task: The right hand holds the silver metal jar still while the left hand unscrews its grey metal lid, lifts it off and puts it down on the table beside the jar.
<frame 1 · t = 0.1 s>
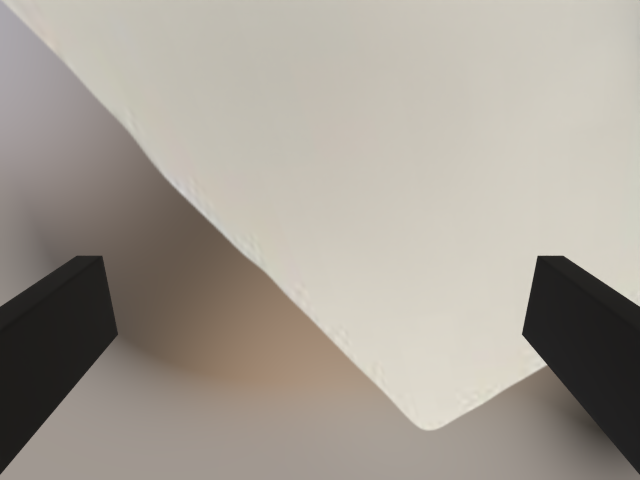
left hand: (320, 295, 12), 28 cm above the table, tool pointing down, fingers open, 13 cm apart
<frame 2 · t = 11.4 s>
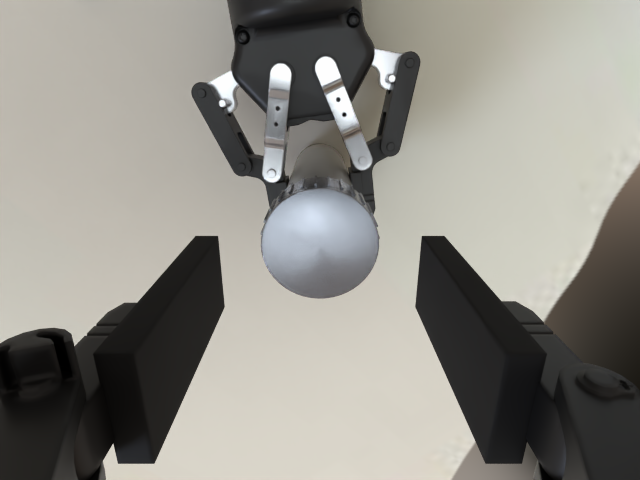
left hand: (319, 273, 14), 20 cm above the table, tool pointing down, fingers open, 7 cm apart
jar: (320, 169, 33), on the table, touching right hand
lid: (320, 243, 17), point 17 cm above the table, screwed on, not yet turned
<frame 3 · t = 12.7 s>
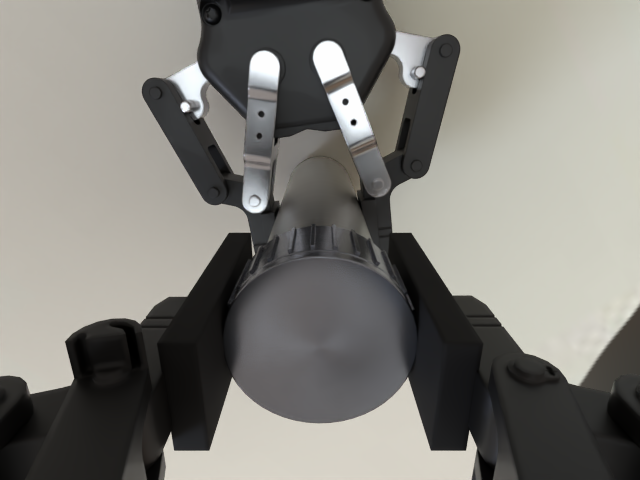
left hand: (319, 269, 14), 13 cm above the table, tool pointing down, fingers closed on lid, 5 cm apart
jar: (320, 187, 26), on the table, touching right hand
lid: (320, 338, 10), point 17 cm above the table, screwed on, not yet turned, touching left hand
when the left hand's fingers open (13 cm above the table, at t = 14.1 s): lid stays where it is, point 18 cm above the table.
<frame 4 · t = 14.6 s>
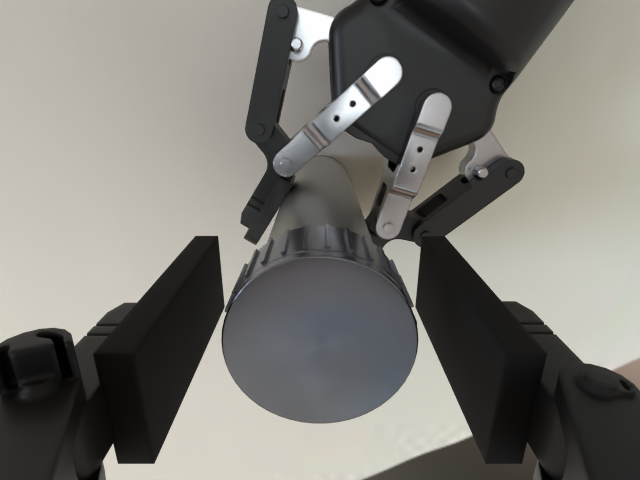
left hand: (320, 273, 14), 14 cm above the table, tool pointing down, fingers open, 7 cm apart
right hand: (292, 258, 21), fingers closed on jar, 4 cm apart
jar: (320, 187, 27), on the table, touching right hand
lid: (319, 339, 10), point 18 cm above the table, turned 83° so far, risen 0.3 cm, still on its thread
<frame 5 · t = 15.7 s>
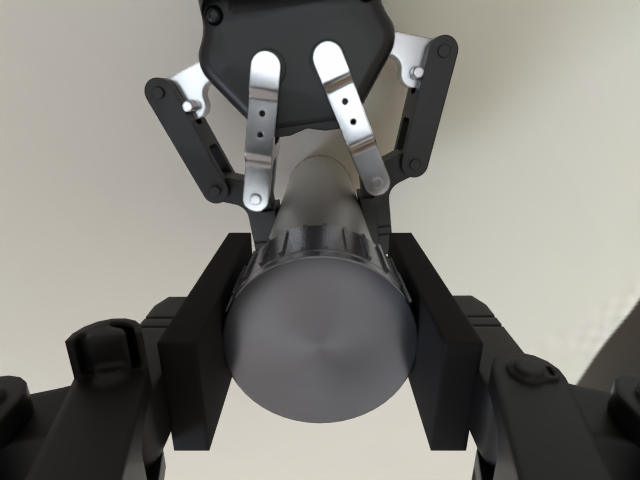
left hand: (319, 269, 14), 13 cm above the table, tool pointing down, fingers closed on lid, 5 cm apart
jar: (320, 186, 27), on the table, touching right hand
lid: (320, 338, 10), point 18 cm above the table, turned 83° so far, risen 0.3 cm, still on its thread, touching left hand
when the left hand's fingers open (0 cm above the table, at t = 21.6 s): lid drops 2 cm, point 2 cm above the table.
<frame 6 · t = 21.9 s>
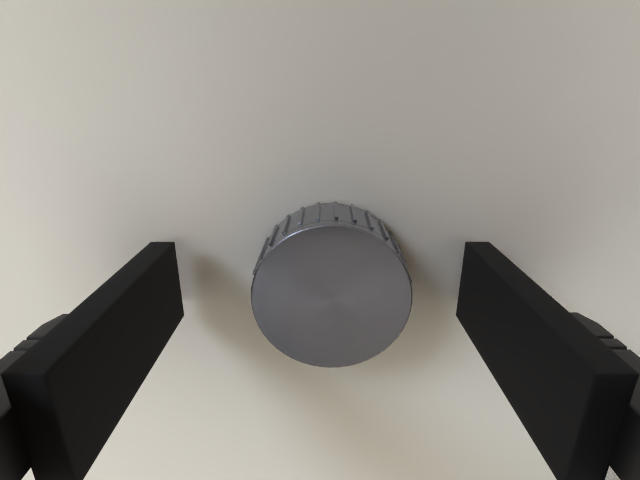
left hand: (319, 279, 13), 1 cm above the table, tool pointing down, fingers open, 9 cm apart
lid: (331, 295, 12), point 2 cm above the table, off its thread
when the right hand's fingers open (7 cm above the table, at t = 22.6 s): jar stays where it is, on the table.
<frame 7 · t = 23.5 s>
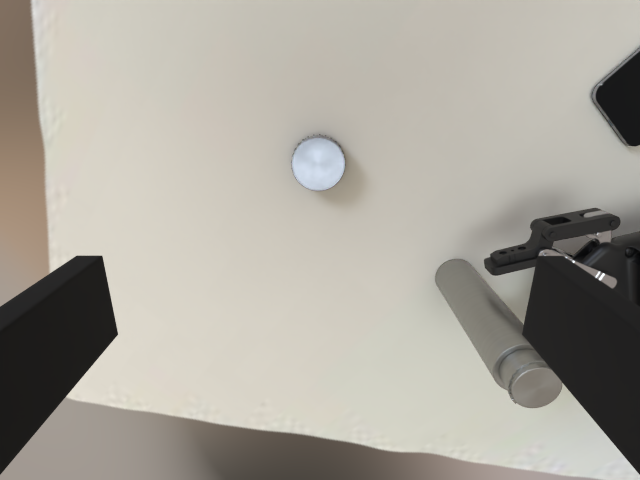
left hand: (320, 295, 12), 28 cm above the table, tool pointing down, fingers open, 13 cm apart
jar: (454, 276, 43), on the table
lid: (318, 164, 37), point 2 cm above the table, off its thread
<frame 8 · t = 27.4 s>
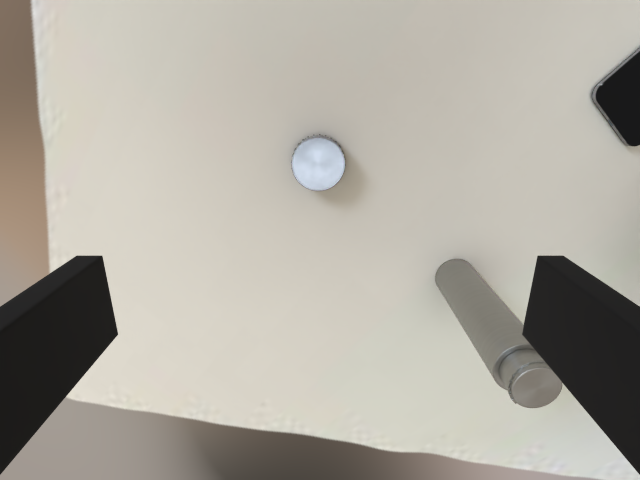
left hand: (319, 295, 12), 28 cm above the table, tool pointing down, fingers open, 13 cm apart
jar: (454, 276, 43), on the table
lid: (318, 164, 37), point 2 cm above the table, off its thread
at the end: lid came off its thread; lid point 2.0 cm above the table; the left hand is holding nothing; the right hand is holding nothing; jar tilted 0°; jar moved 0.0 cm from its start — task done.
